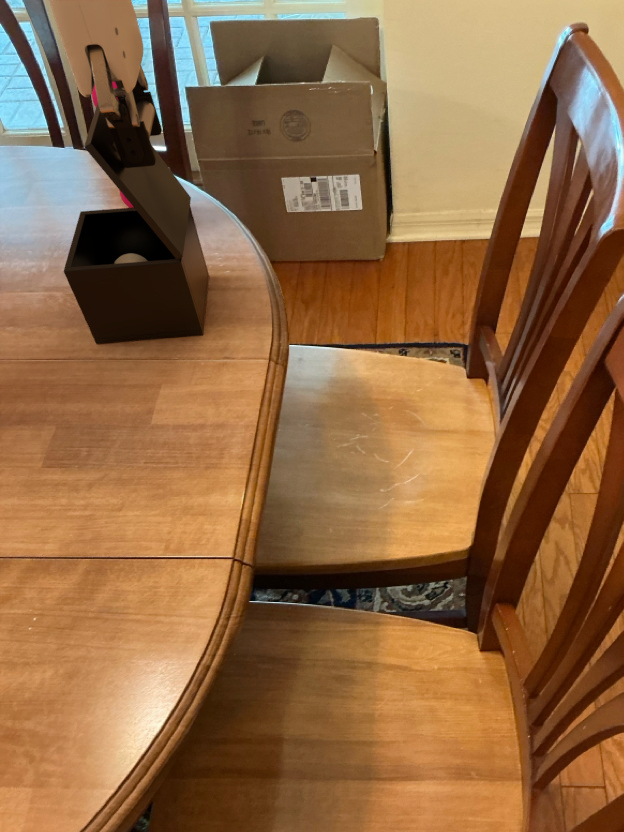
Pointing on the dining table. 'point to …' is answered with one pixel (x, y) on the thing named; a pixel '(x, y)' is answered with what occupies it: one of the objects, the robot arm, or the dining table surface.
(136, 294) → the waste bin
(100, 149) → the bin lid
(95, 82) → the robot arm
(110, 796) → the dining table surface
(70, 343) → the dining table surface
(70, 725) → the dining table surface
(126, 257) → the paper ball
